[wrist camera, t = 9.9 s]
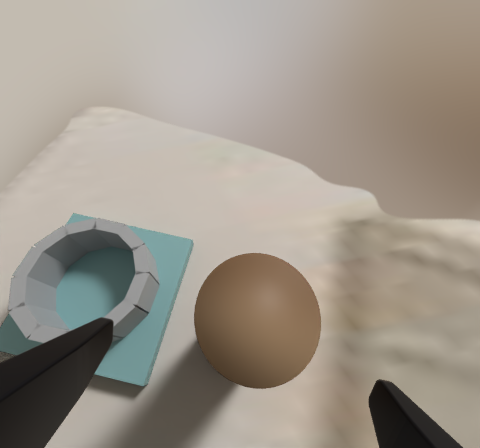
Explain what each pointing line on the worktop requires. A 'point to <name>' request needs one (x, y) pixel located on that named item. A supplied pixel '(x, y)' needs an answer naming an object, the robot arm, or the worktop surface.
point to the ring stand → (98, 291)
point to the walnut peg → (257, 320)
